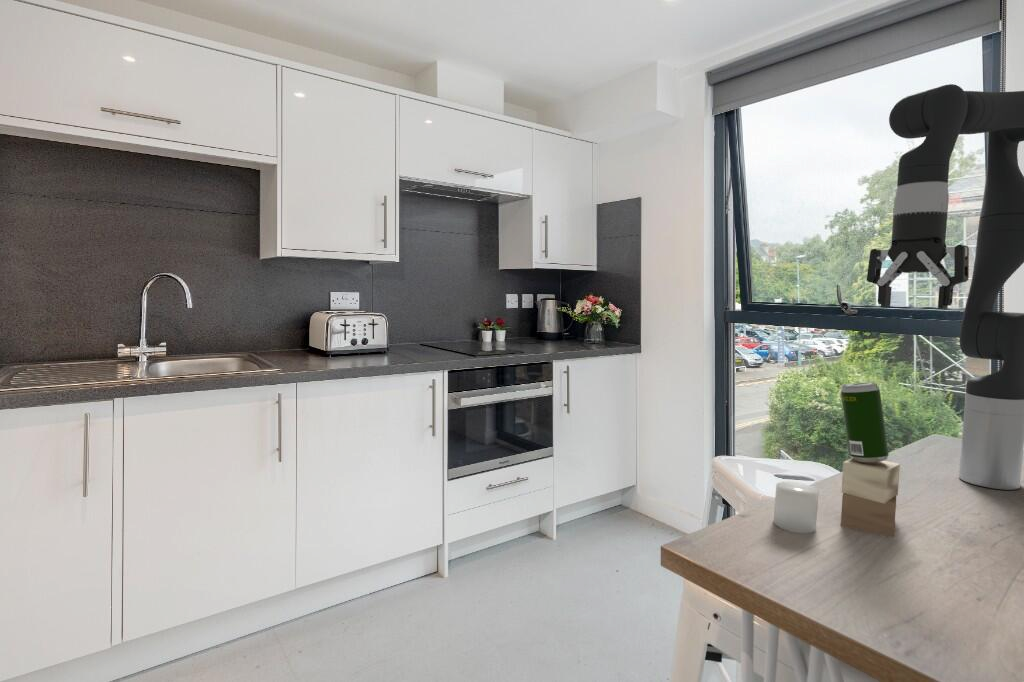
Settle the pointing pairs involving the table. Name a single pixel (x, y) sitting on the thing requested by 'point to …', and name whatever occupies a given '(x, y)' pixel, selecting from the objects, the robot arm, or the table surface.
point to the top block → (871, 480)
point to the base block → (868, 514)
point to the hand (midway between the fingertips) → (912, 308)
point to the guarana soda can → (864, 422)
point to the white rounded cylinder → (796, 507)
